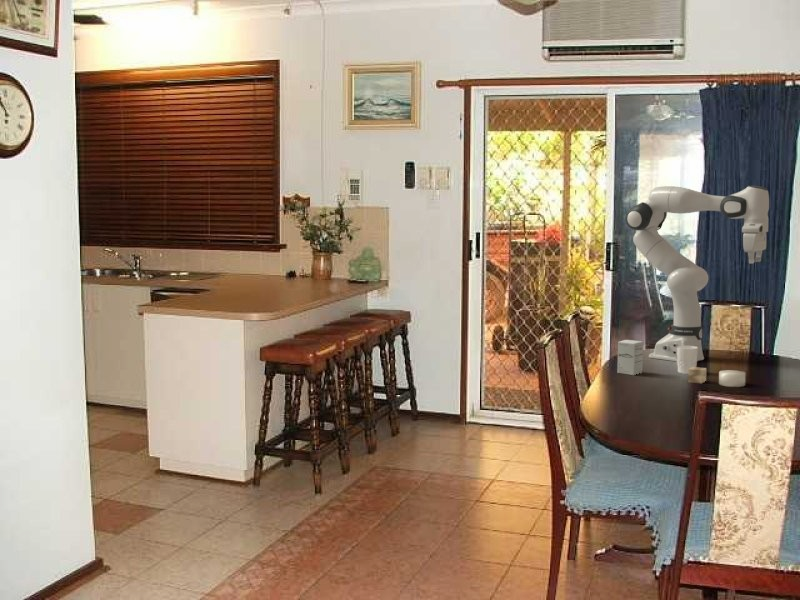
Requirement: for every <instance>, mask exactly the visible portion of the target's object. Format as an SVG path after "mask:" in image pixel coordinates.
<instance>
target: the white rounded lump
mask: <svg viewBox="0 0 800 600" xmlns="http://www.w3.org/2000/svg"><path fill="white" fill-rule="evenodd" d="M718 384H719V385H720V386H724V387H728V388H729V387H731V388H740V387H744V386H746V372H745V371H741V370H736V369H735V370H733V369H730V370H729V369H726V370H719V372H718Z"/></svg>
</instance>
